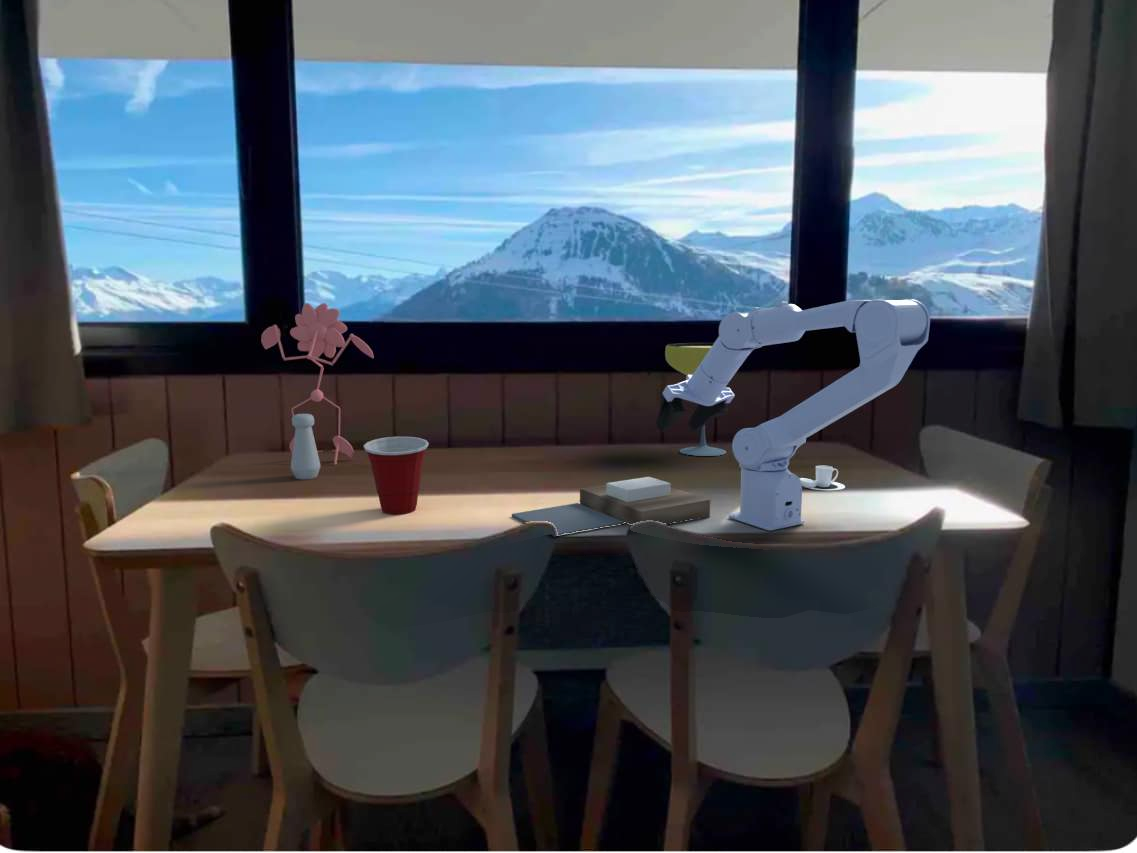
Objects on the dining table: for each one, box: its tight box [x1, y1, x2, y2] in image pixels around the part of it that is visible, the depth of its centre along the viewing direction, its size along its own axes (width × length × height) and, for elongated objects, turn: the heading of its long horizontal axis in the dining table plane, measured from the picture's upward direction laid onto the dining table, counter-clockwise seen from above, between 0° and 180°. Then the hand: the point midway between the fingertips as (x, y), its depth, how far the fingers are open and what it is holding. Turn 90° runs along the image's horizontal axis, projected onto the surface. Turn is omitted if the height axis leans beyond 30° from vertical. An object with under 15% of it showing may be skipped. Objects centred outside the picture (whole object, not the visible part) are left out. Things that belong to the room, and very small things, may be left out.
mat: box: [511, 502, 625, 535], centre depth 132 cm, size 14×13×1 cm
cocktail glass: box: [664, 342, 727, 457], centre depth 186 cm, size 18×18×25 cm
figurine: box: [260, 302, 375, 466], centre depth 180 cm, size 15×26×35 cm, turn 84°
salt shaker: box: [290, 413, 321, 481], centre depth 163 cm, size 6×6×13 cm
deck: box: [579, 484, 711, 524], centre depth 137 cm, size 18×14×3 cm
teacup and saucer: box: [799, 464, 846, 492], centre depth 155 cm, size 9×8×4 cm
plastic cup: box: [363, 436, 430, 515], centre depth 137 cm, size 11×11×12 cm
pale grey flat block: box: [605, 476, 672, 502], centre depth 136 cm, size 9×6×2 cm, turn 122°
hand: (676, 427), depth 144 cm, fingers open, 7 cm apart
